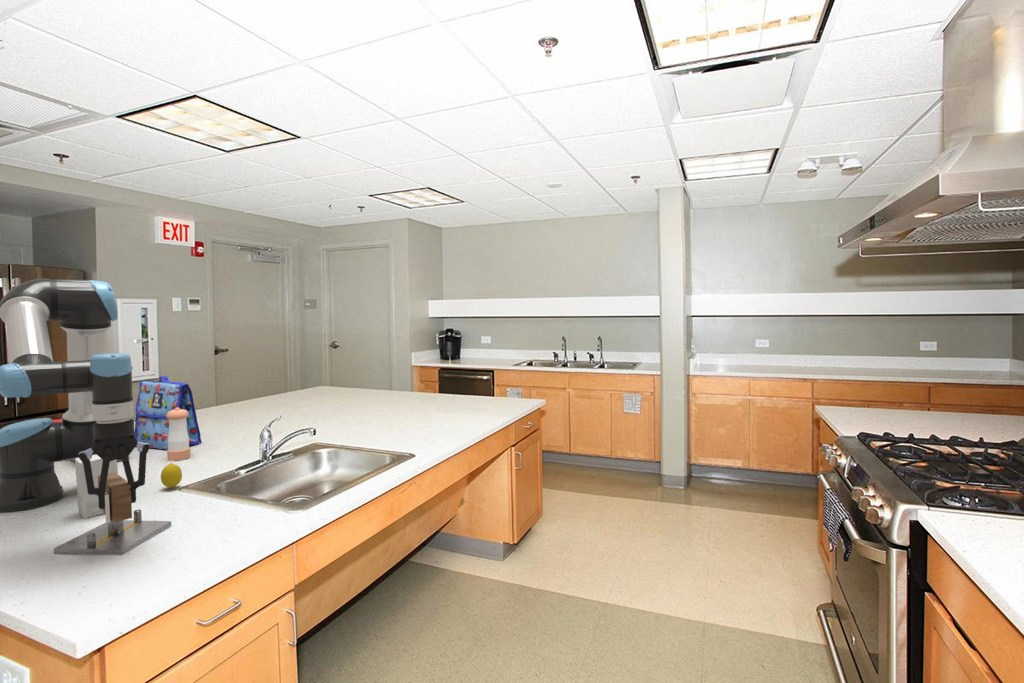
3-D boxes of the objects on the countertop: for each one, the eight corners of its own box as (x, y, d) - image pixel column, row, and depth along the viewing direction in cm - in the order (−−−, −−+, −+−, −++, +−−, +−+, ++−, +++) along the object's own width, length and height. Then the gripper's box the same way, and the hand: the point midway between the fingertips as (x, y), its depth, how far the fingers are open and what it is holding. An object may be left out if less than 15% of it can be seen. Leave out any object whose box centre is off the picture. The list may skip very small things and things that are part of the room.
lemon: (158, 492, 157) (157, 466, 156) (165, 486, 162) (164, 461, 162) (178, 490, 158) (178, 465, 158) (185, 484, 164) (184, 460, 163)
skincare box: (114, 504, 147) (112, 450, 146) (121, 510, 143) (119, 455, 142) (76, 513, 140) (74, 457, 139) (82, 519, 136) (79, 461, 135)
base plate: (53, 553, 117) (52, 526, 117) (110, 524, 133) (109, 501, 133) (122, 555, 117) (121, 528, 116) (171, 525, 133) (170, 502, 132)
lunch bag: (132, 447, 208) (129, 376, 206) (163, 439, 221) (161, 372, 219) (173, 451, 202) (171, 378, 200) (203, 443, 215) (201, 374, 213)
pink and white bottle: (195, 455, 196) (193, 406, 195) (180, 461, 189) (179, 409, 188) (177, 455, 197) (175, 405, 196) (162, 460, 190) (160, 409, 188)
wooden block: (99, 507, 128) (97, 475, 127) (116, 503, 130) (115, 472, 130) (113, 522, 119) (111, 488, 118) (131, 518, 121) (130, 484, 121)
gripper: (66, 428, 111) (72, 533, 113) (157, 418, 122) (161, 515, 123) (68, 422, 117) (73, 522, 119) (154, 413, 127) (158, 505, 129)
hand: (118, 518), depth 121 cm, fingers closed on wooden block, 3 cm apart
